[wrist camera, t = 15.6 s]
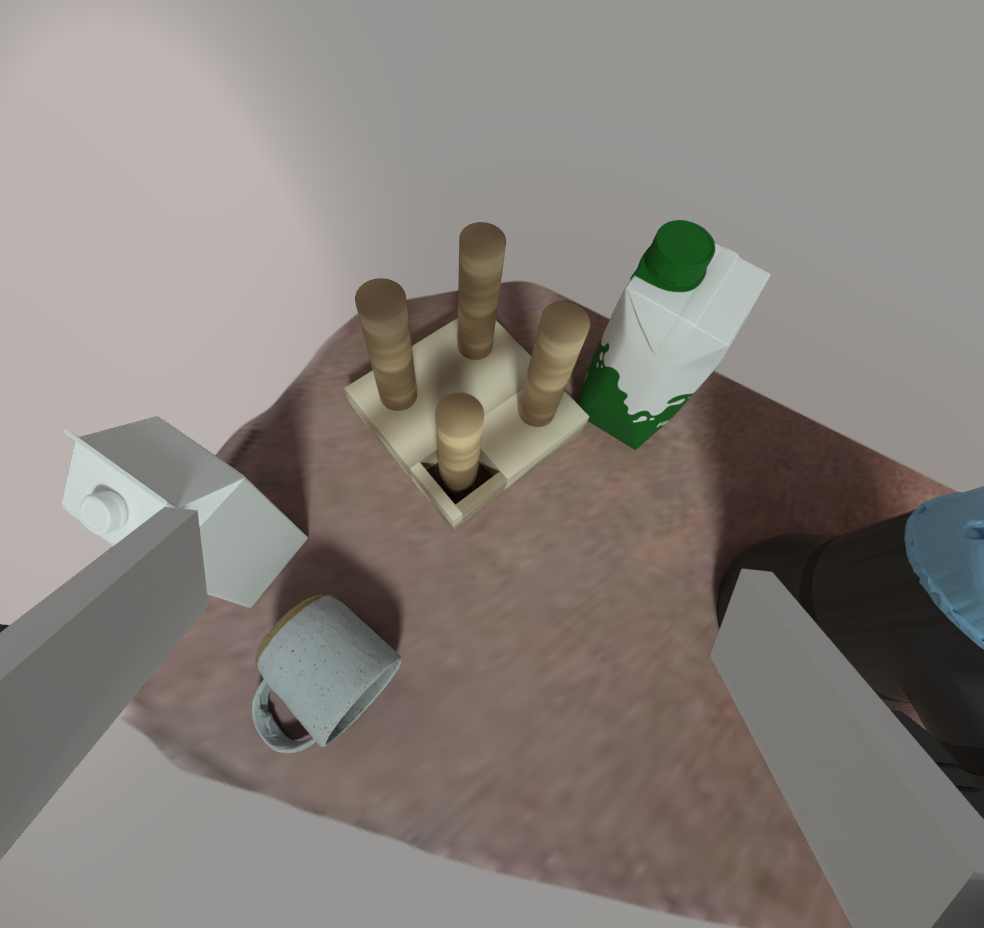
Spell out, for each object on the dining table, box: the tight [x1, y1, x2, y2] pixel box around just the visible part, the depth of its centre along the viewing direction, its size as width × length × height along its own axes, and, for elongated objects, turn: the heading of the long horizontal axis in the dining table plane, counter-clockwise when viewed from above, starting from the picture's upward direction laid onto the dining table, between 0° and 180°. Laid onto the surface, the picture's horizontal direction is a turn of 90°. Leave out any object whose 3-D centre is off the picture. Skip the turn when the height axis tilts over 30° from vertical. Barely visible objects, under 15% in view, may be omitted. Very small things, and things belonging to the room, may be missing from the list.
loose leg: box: [435, 392, 484, 497], centre depth 41 cm, size 3×3×13 cm
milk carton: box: [62, 416, 308, 608], centre depth 35 cm, size 7×7×19 cm
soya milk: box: [577, 220, 770, 450], centre depth 42 cm, size 9×9×20 cm
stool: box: [344, 222, 590, 530], centre depth 42 cm, size 16×16×16 cm
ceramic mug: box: [252, 594, 402, 753], centre depth 37 cm, size 11×8×8 cm
